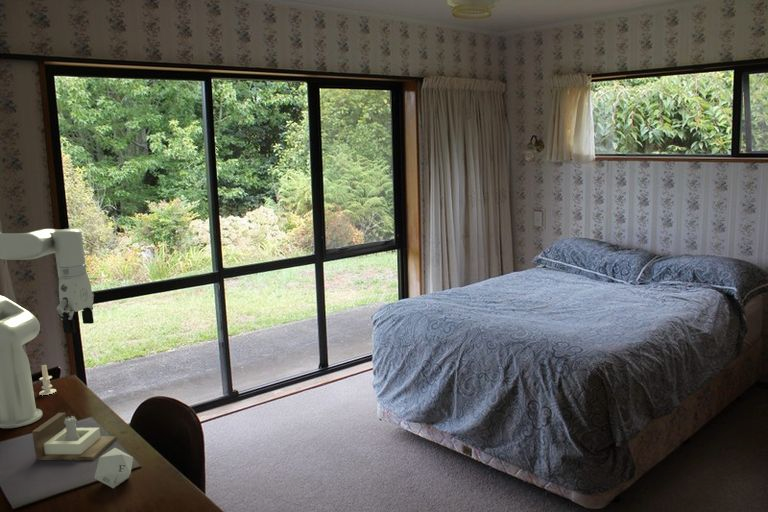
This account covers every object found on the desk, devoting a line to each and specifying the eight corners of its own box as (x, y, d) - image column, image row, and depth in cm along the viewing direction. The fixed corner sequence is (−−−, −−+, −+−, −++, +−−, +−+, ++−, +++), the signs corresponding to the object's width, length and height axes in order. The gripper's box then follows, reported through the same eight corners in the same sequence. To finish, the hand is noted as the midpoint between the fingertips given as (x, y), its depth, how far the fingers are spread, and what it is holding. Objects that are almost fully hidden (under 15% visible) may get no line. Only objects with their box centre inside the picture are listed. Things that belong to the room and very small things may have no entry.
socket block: (45, 454, 174) (43, 444, 173) (66, 437, 184) (65, 427, 183) (80, 454, 173) (79, 444, 172) (100, 437, 183) (99, 427, 182)
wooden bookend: (36, 459, 173) (32, 431, 172) (62, 439, 185) (58, 412, 184) (93, 460, 172) (89, 431, 170) (116, 439, 183) (113, 412, 182)
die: (91, 496, 155) (107, 469, 152) (87, 466, 161) (102, 439, 157) (125, 495, 160) (141, 469, 157) (120, 466, 166) (135, 440, 163)
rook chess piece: (75, 450, 176) (71, 422, 174) (60, 449, 177) (56, 421, 175) (86, 442, 180) (82, 415, 179) (71, 441, 181) (68, 414, 180)
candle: (35, 395, 220) (31, 366, 218) (46, 390, 225) (41, 361, 223) (49, 396, 219) (45, 366, 218) (59, 390, 224) (55, 361, 223)
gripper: (66, 277, 183) (74, 336, 186) (100, 265, 200) (106, 319, 203) (41, 277, 184) (49, 336, 187) (76, 266, 201) (83, 320, 204)
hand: (79, 327), depth 195 cm, fingers open, 9 cm apart
